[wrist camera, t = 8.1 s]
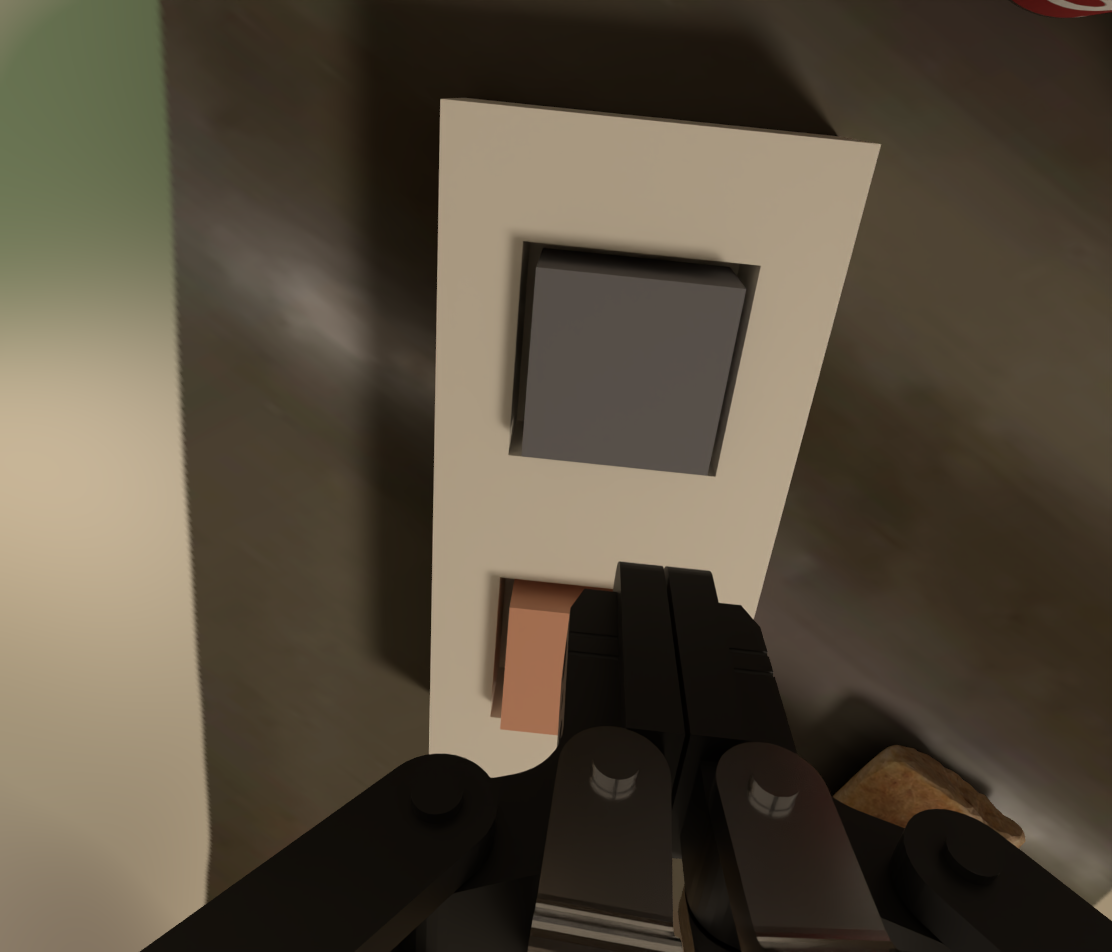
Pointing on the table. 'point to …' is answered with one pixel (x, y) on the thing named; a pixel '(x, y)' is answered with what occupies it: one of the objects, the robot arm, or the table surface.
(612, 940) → the robot arm
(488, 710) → the key console
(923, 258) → the table surface
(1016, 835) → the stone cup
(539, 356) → the charcoal key
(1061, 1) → the soda can
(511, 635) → the terracotta key
